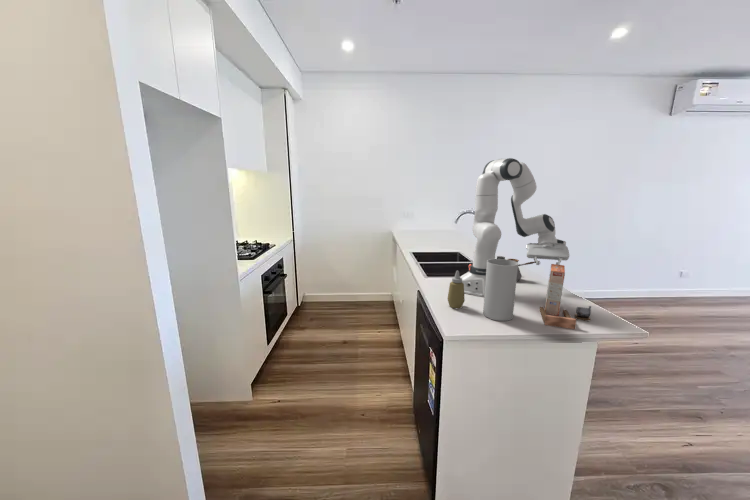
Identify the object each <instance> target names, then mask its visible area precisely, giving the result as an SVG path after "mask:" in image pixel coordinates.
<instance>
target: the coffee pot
mask: <svg viewBox="0 0 750 500" xmlns="http://www.w3.org/2000/svg"><path fill="white" fill-rule="evenodd" d="M506 260H512V261H515V262H517V263H518V270H517V280H516V282H518V281H520V280H521V279H522V277H523V276H522V273H521V270H520V268H519V267H520V266H522V267H523V266H528V265H533V264H536V262H535V261H530V262H526V263H525V262H524V263H521V264H519V261H520V260H519V259H517V258H507V259H506Z"/></svg>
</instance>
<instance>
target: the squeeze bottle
mask: <svg viewBox="0 0 750 500" xmlns="http://www.w3.org/2000/svg"><path fill="white" fill-rule="evenodd" d="M460 277H461V275H460V271H459V270H455V274H454V276H453V277H452V278H451V282H449V287H448V292H447V302H448V306H449V307H450V308H452V309H456V308H458V309H462V307H463V305H464V303H465V301H466V300H465V293H464V284H463V283H462V278H460Z"/></svg>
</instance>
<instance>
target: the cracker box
mask: <svg viewBox="0 0 750 500" xmlns="http://www.w3.org/2000/svg"><path fill="white" fill-rule="evenodd" d="M565 275H566V269H565V265H564V264H563V265H562V264H560V265H557V264H556V263H550V269H549V275H548V276H549V277H548V283H547V288H546V289H547V290H546V297H545V298H546V299H545V305H544V309H545V312H546V314H547V315H551V316H559V315H560V308H561V302H562V301H561V300H562V295H563V288H564V283H565V282H564V281H565ZM559 317H560V316H559Z"/></svg>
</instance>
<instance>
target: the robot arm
mask: <svg viewBox="0 0 750 500" xmlns="http://www.w3.org/2000/svg"><path fill="white" fill-rule="evenodd" d="M504 181H508V182H510V184H511V187H512V190H513V193H512V194H511V196H510V205H511V209H512V213H513V218H514V222H515V229H516V233H517V235H519V236H521V237H522V238H525V237H529V236H531V235H537V237H538V238H537V242H536V243H535V242H534V243H532V242H529V243H527V244H526V245H525V246H526V250H527V251H526V257H527V259H533V260H534V261H533V262H536V263H535V265H536V266H540V265H541V261H540V260H549V261H550V260H551V261H553V260H554V261H557V262H556V263H555V264H557V265H561V262H562V261H565V262H567V261H568V260H569V259H570V250H569V248H568V246H567V242H566V241H565V240H562V239H559V238H556V227H555V221H554V219H553V217H551V216H550V215H548V214H546V213H544V214H543V213H542V214H539V215H536V216H535V215H534V216H531V217H527V218H525V217H524V215H523V212H522V210H523V209H522V204H524V203H525V202H527V201H528V200H529V199H531V197H532V196H534V195H535V193H536V191H537V187H538V186H537V182H536V179H535V178H534V175H533V173H532V171H531V169H530V168H529V166H528V165H527V163H525V162H521V161H519V160H517V159H516V158H512V157H509V158H498V159H495V160H490V161H489V162H487V163H486V164H485V165H484V167H483V171H482V173H481V174H480V175H478V177H477V180H476V187H475V198H474V199H475V201H474V202H475V207H474V208H475V209H474V218H473V225H472V233H473V235H474V237H475V238H476V244H475V248H474V251H473V257H472V258H473V259H472V264H471V263H470V264H469V265H467V266H468V271H467V272H466V273H464V274H462V275H460V278H462V283H463V284H464V294H466V295H472V296H476V297H484V294H485V282H486V269H487V260H489V259H496V253H497V248H498V246H499V245H498V244H499V242H500V239H501V238H502V229H500V227H499V226H498V225H497V223H495V220H496V219H495V218H496V216H497V215H496V214H497V212H498V207H499V206H498V203H499V199H498V198H499V184H500V182H504Z"/></svg>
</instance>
